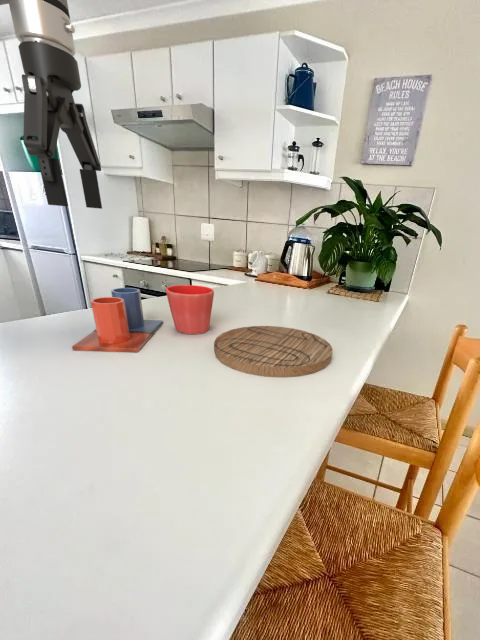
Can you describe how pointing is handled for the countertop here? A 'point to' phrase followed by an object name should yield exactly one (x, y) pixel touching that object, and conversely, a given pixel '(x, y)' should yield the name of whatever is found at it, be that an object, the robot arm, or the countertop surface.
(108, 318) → the red cup
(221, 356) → the trivet
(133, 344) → the board
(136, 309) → the blue cup
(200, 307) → the flower pot
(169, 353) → the countertop surface
